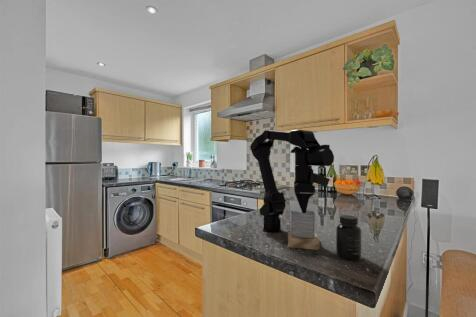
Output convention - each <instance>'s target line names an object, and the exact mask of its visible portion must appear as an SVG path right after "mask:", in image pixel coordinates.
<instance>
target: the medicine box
mask: <svg viewBox="0 0 476 317" xmlns="http://www.w3.org/2000/svg"><path fill="white" fill-rule="evenodd" d="M315 222H316V214H315V212H314V210H306V213H302V211H301V209H291V210H290V231H291V237H302V238H315V233H316V232H315V230H316V229H315V227H316V226H315V224H316V223H315Z"/></svg>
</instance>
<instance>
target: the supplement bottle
mask: <svg viewBox="0 0 476 317" xmlns="http://www.w3.org/2000/svg"><path fill="white" fill-rule="evenodd" d="M358 220H359V217H357V216H354V215H351V214H350V215H348V214H342V215H340V216H339V224H338V225H337V226H336V229H335V230H336V231H335V232H336V233H335V234H336V235H335V240H336V241H335V242H336V248H335V250H336V251H335V252H336V256H338V258H340V259H342V260H345V261H348V262H349V261H350V262H357V261H360V260H361V258H362V229H361V227H359V226H358V225H359V221H358Z"/></svg>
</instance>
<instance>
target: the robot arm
mask: <svg viewBox="0 0 476 317" xmlns="http://www.w3.org/2000/svg"><path fill="white" fill-rule="evenodd" d="M275 141H281V142H282V141H283V142H288V143H289V144H290V145H293V146H294V147H293V148H292V149H291V150H290V153H291V154H294V181H293V188H294V194H295V197H296V200H297V203H298V204H299V207H300V210H301V211H302V213H306V211H308V210H307V209H308V204H309V200H310V198H311V197H313V196H314V195H315V194H316V186H315V185H314V184H317V185H320V186H322V187H324V188H328V185H329V183H330V179H331V178H328V177H326V176H325V173H323V172H319V173H314V169H313V167H331V166H332V164H333V163H334V161H335V160H334V159H335V155H334V153H333V151H332V149H331V148H330V147H331V146H330V144H322V145H321V144H320V143H319V141H318V140H317V139H316V136H315V133H314V132H313V131H312V130H307V129H306V130H305V129H295V130H290V131H281V130H273V129H265V130H264V131H263V132H262V133H261V134H259V136H256V137H255V138H254V139H253V140H252V142H251V144H250V151H251V153H252V156H253V157H254V158H255V159H256V160H257V163H258V168H259V172H260V175H261V179H262V183H263V188H264V191H265V192H264V196H263V199H262V200H263V204H262V206H261V207H260V208H259V215H261V216H263V227H262V231H263V232H272V233H279V232H280V230H281V228H282V227H281V226H282V225H281V223H282V222H281V220H282V219H281V217H280V215H281V216H283V215H284V211H285V208H286V203H287V201H286V199H285V194H284V192H283V191H281V192H280V191H279V190H278V188H277V185H276V181H275V176H274V173H273V169H272V165H271V162H270V156H271V148H272V147H273V146H274V143H275Z"/></svg>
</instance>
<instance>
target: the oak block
mask: <svg viewBox="0 0 476 317" xmlns="http://www.w3.org/2000/svg"><path fill="white" fill-rule="evenodd" d="M320 247H321V246H320V239H319V237H318V234H317V232H315V238H302V237H291V230H288V231H287V248H295V249H297V248H298V249H305V250H316V251H319V250H320Z"/></svg>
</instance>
